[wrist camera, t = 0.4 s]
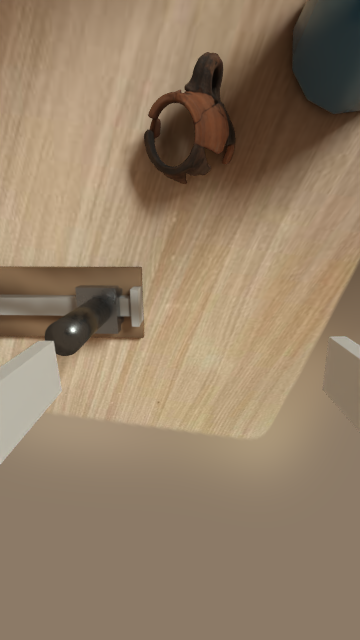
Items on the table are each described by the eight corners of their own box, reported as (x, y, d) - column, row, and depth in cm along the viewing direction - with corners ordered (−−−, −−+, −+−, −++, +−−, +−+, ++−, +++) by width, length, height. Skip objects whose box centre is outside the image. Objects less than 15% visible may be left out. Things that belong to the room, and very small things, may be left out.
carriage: (85, 282, 39) (31, 307, 26) (122, 283, 38) (86, 307, 25) (89, 324, 40) (40, 367, 27) (124, 325, 40) (92, 368, 27)
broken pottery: (230, 190, 36) (199, 192, 30) (169, 174, 40) (131, 172, 34) (261, 69, 30) (231, 38, 24) (186, 62, 34) (142, 33, 27)
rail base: (-42, 266, 40) (-89, 272, 33) (141, 267, 39) (131, 273, 32) (-27, 333, 43) (-68, 351, 36) (144, 335, 42) (135, 354, 35)
